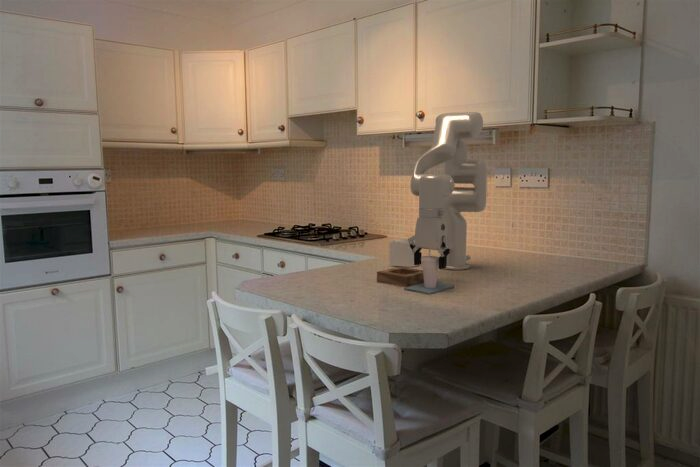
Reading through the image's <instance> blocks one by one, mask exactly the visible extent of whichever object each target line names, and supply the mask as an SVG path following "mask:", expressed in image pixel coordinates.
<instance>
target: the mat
mask: <svg viewBox="0 0 700 467" xmlns="http://www.w3.org/2000/svg"><path fill="white" fill-rule="evenodd" d="M450 288H451V289H453V288H455V285H454V284H448V283H447V284H446V283H443V282H442V283H440V282H437V284H436V287H435V288H426V287H425V285H424V283H421V284H417V285H413V286H410V287H404V288H403V290H405V291H409V292H413V293H418V294H424V295H433V294H436V293H437V294H438V293H439V292H444V291H448V290H450Z"/></svg>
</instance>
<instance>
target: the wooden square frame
mask: <svg viewBox="0 0 700 467" xmlns="http://www.w3.org/2000/svg"><path fill="white" fill-rule="evenodd" d="M376 283H381V284H388V285H393V286H398V287H402V288H403V287H404V288H406V287H410V286H413V285H417V284H421V283H424V276H423V269H417V268H416V269H415V268H411V267H400V266H396V267H394V268H393V267H392V268H387V269H383V270H379V271H376Z"/></svg>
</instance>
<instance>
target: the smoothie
mask: <svg viewBox="0 0 700 467" xmlns="http://www.w3.org/2000/svg"><path fill="white" fill-rule="evenodd" d="M439 257H440V256H436V255H431V249H428V255H425V256H424V255H422V256H421V265H422V266H421V267H422V270H423V276H424V285H425V287H426V288H435V287H436V284H437V283H438V278H439V277H438V275H439V270H440V269H439Z"/></svg>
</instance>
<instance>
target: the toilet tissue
mask: <svg viewBox="0 0 700 467" xmlns="http://www.w3.org/2000/svg"><path fill="white" fill-rule="evenodd" d="M388 244H389V259H388V260H389V262H388V266H392V267H405V268H411V267H412V268H414V267H418V266H419V265H414V253H413V252H412V249H411V248H410V245H409V242H408V238H398V239H397V238H396V239H393V240H392V241H389V243H388ZM414 244H415V240H414Z"/></svg>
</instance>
